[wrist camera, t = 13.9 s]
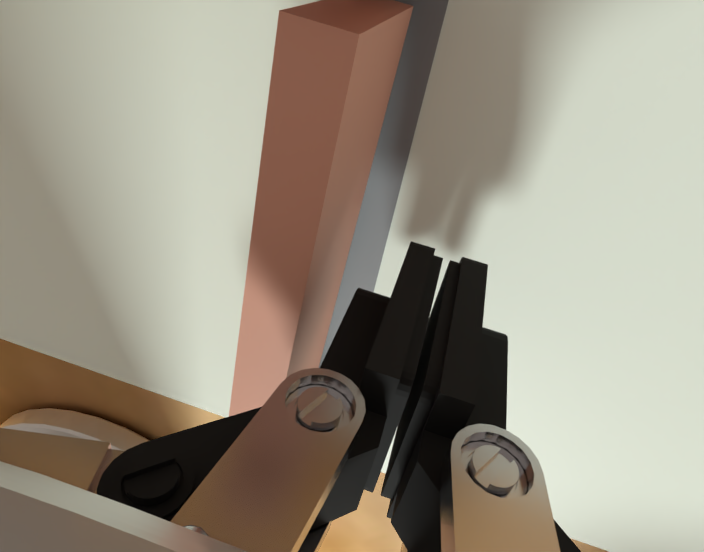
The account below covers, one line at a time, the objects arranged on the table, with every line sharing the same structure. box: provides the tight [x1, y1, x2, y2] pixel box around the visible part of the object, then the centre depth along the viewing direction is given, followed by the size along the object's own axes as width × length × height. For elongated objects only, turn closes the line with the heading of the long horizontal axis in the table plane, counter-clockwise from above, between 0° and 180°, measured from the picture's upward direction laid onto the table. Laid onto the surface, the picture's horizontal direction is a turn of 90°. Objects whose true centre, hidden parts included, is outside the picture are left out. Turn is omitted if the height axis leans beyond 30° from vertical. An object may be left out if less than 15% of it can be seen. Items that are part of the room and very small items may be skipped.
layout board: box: [0, 0, 704, 552], centre depth 12 cm, size 18×28×1 cm, turn 79°
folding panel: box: [229, 0, 413, 416], centre depth 10 cm, size 15×2×5 cm, turn 167°
